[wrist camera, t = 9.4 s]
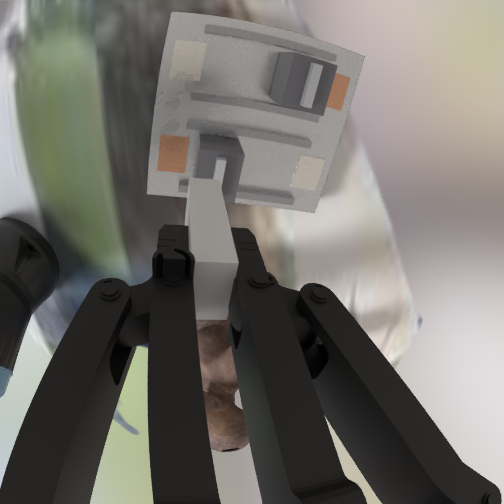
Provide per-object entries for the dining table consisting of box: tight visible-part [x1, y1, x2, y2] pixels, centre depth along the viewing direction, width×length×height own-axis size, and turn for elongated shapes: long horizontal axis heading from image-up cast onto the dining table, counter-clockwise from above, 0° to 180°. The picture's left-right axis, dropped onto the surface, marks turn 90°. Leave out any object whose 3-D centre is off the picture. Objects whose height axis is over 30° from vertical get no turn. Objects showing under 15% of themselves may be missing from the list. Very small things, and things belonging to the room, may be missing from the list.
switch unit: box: [147, 12, 365, 213], centre depth 29 cm, size 20×20×4 cm
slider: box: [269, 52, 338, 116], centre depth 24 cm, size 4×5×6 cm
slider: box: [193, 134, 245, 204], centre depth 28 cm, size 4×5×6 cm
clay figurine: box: [196, 312, 249, 452], centre depth 36 cm, size 13×10×25 cm
